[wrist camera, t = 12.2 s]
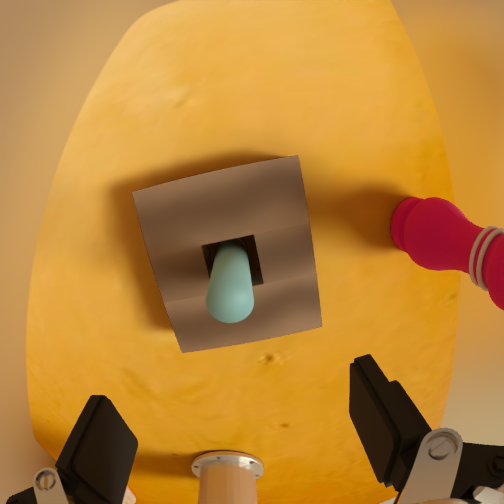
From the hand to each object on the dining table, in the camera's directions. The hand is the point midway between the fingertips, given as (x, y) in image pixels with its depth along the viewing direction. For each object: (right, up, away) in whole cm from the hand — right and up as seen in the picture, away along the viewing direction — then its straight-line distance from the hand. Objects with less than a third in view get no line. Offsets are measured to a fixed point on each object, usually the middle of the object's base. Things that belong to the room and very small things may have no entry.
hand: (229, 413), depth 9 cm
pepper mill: (+19, +9, +19) cm, 28 cm away
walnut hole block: (-1, +6, +19) cm, 20 cm away
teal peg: (-1, +6, +19) cm, 20 cm away
